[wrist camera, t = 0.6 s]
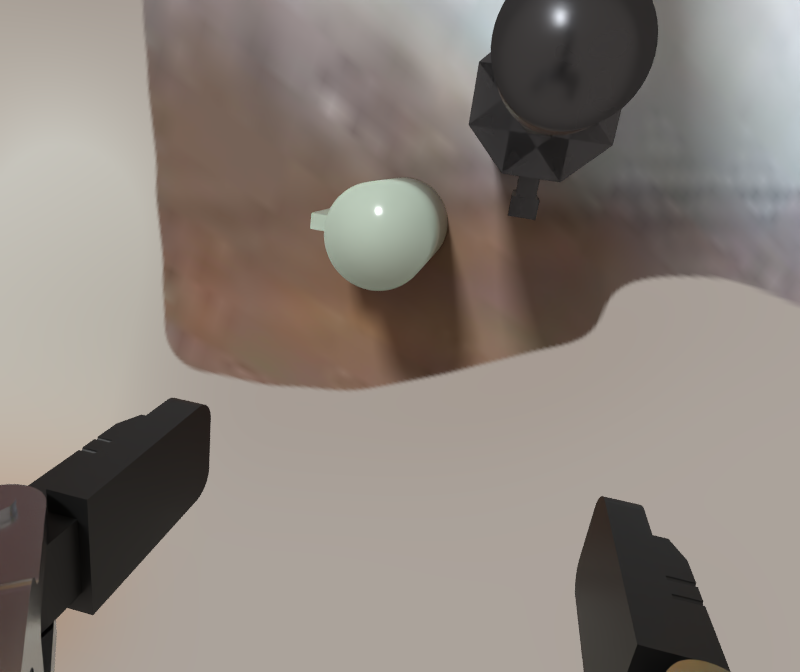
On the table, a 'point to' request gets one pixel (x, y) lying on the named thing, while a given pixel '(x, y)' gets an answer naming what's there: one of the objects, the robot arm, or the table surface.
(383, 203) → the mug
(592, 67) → the plunger
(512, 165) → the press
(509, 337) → the table surface
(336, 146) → the table surface
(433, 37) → the table surface
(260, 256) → the table surface
